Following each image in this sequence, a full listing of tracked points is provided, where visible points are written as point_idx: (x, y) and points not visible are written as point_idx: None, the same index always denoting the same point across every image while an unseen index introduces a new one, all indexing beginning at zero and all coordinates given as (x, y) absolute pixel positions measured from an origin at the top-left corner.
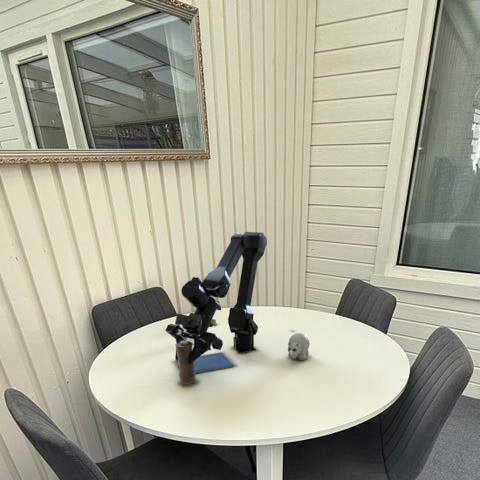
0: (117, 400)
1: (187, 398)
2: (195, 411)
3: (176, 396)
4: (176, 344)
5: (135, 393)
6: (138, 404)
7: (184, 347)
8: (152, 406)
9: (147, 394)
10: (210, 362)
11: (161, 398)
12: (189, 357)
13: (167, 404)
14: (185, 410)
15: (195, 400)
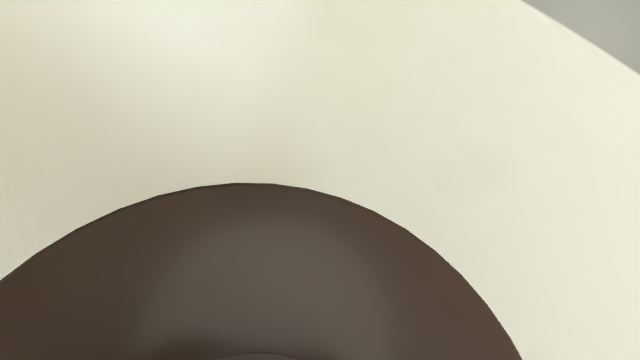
0: (472, 14)
1: (130, 138)
2: (2, 24)
3: (217, 137)
4: (474, 338)
5: (456, 92)
6: (357, 9)
7: (66, 243)
8: (279, 10)
9: (392, 103)
10: None
11: (289, 89)
12: None
13: (214, 45)
14: (73, 19)
15: (60, 133)
